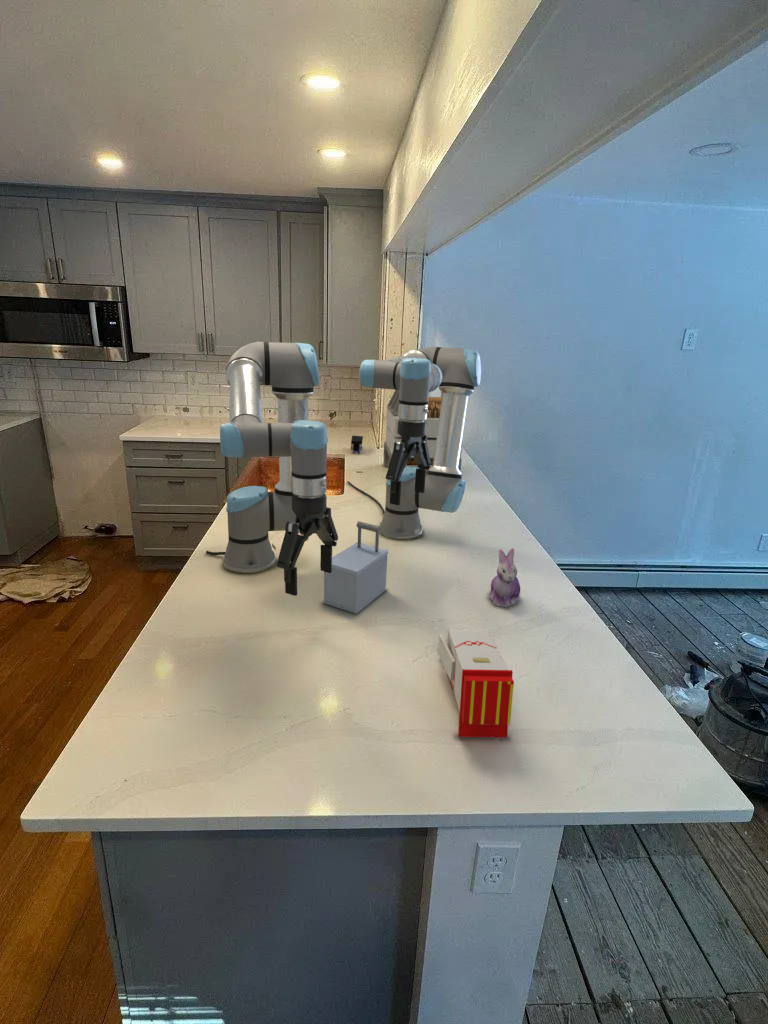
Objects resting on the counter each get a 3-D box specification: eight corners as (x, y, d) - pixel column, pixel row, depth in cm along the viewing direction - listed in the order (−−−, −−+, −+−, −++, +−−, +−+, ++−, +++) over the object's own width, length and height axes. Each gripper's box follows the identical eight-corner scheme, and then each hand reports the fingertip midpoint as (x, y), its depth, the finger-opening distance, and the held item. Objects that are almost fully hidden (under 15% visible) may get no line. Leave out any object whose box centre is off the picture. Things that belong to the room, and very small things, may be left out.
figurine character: (362, 457, 305) (363, 447, 318) (362, 443, 301) (363, 434, 315) (350, 456, 304) (351, 447, 318) (350, 443, 301) (351, 434, 314)
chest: (355, 580, 164) (356, 546, 161) (385, 590, 160) (387, 554, 156) (323, 603, 151) (324, 565, 148) (356, 613, 147) (357, 575, 143)
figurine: (502, 611, 151) (509, 560, 146) (479, 594, 159) (485, 545, 154) (530, 604, 155) (537, 554, 150) (506, 588, 163) (512, 540, 158)
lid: (357, 545, 161) (357, 517, 158) (388, 553, 156) (389, 525, 153) (324, 565, 147) (324, 535, 145) (357, 575, 143) (358, 544, 140)
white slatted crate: (382, 463, 289) (386, 382, 275) (445, 464, 293) (451, 384, 279) (390, 482, 257) (394, 392, 243) (460, 483, 261) (468, 394, 247)
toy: (488, 613, 130) (523, 677, 101) (484, 667, 133) (517, 744, 104) (435, 612, 130) (455, 676, 101) (432, 666, 133) (451, 743, 103)
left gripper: (287, 513, 111) (289, 609, 118) (353, 483, 131) (351, 566, 139) (257, 505, 114) (260, 599, 121) (326, 477, 135) (326, 559, 142)
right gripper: (400, 429, 135) (396, 512, 142) (446, 415, 155) (440, 489, 162) (374, 424, 138) (371, 506, 146) (422, 412, 159) (417, 484, 166)
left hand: (309, 582), depth 130 cm, fingers open, 13 cm apart
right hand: (407, 497), depth 154 cm, fingers open, 13 cm apart
